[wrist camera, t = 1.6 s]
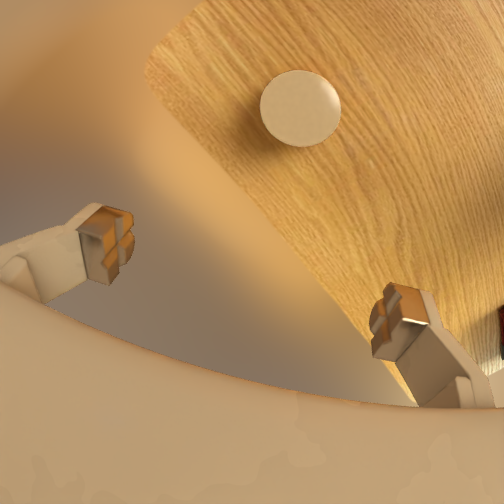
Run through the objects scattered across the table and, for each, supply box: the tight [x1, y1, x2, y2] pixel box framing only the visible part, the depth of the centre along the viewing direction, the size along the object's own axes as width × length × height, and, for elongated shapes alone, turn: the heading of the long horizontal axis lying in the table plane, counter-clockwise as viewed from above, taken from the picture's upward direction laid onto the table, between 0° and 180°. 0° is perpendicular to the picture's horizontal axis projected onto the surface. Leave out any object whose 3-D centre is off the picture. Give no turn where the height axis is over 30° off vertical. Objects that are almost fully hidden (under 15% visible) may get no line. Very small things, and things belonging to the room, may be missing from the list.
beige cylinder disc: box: [260, 70, 341, 147], centre depth 17 cm, size 5×5×3 cm
